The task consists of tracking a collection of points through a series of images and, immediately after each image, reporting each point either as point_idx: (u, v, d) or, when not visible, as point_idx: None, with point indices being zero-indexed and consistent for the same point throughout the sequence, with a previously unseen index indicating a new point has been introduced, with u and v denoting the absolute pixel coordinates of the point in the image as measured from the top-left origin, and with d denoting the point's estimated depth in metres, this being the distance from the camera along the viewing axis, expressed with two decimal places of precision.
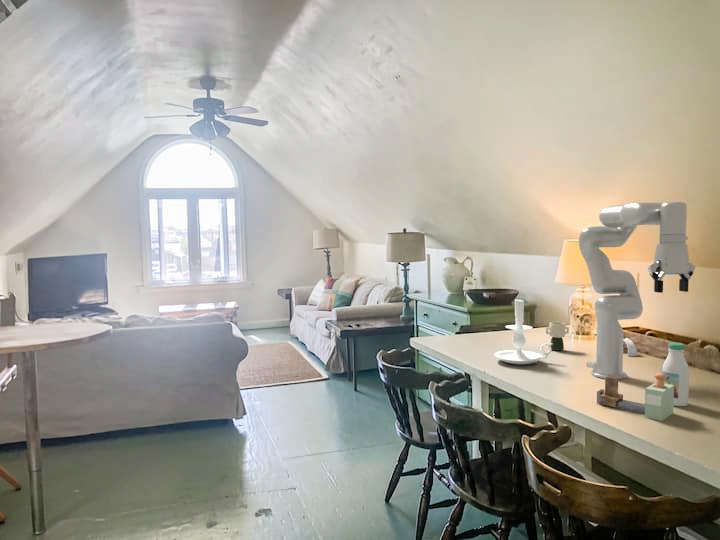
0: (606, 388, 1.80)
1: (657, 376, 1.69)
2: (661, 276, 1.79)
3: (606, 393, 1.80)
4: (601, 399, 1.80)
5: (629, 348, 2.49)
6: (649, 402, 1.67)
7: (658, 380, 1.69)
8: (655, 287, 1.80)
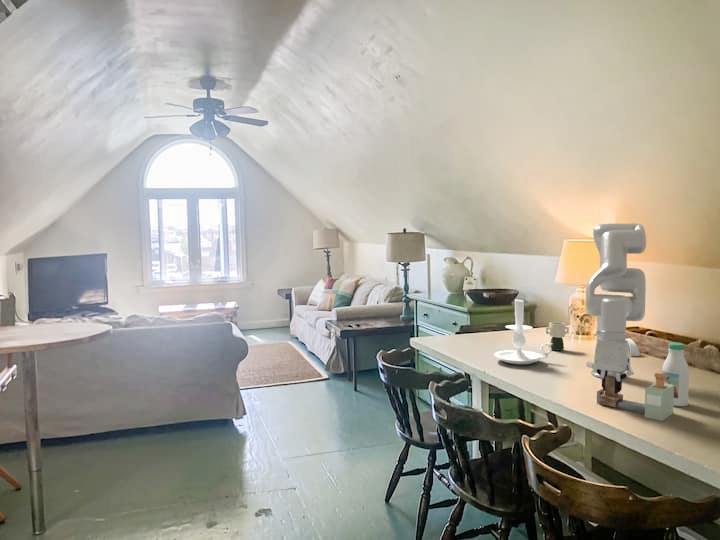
0: (606, 388, 1.80)
1: (657, 376, 1.69)
2: None
3: (606, 393, 1.80)
4: (601, 399, 1.80)
5: (632, 348, 2.48)
6: (649, 402, 1.67)
7: (658, 380, 1.69)
8: (620, 388, 1.78)
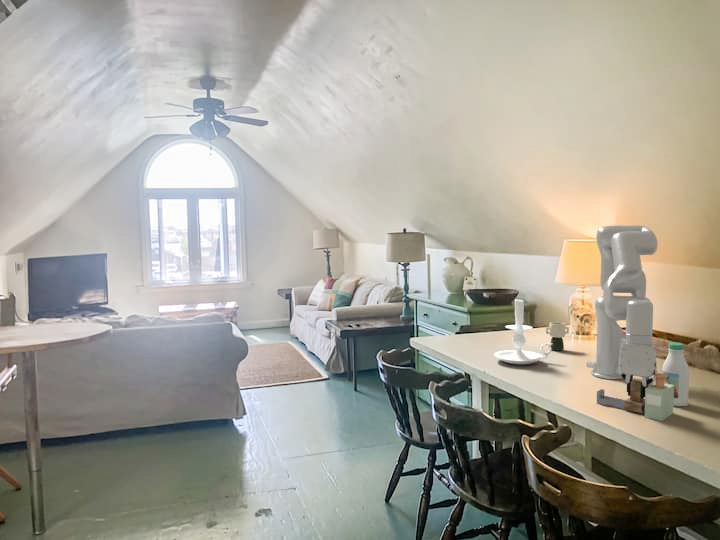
0: (631, 393, 1.74)
1: (657, 376, 1.69)
2: None
3: (631, 398, 1.75)
4: (626, 404, 1.74)
5: None
6: (649, 402, 1.67)
7: (658, 380, 1.69)
8: None
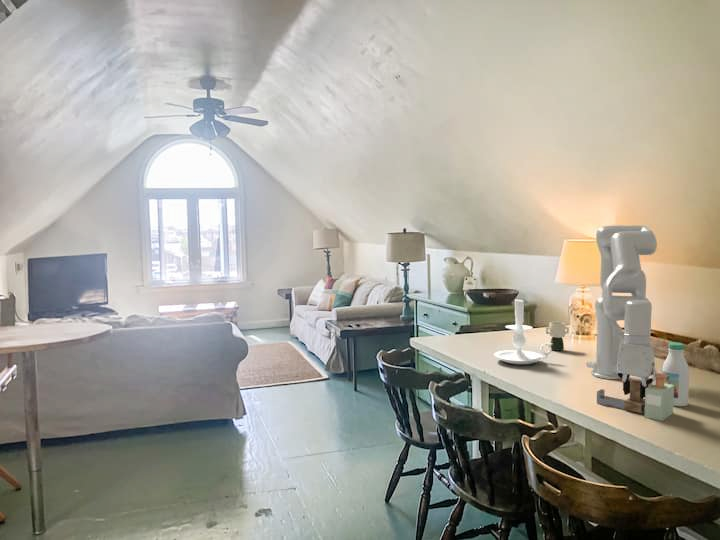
0: (631, 393, 1.75)
1: (657, 376, 1.69)
2: None
3: (631, 398, 1.75)
4: (626, 404, 1.74)
5: None
6: (649, 402, 1.67)
7: (658, 380, 1.69)
8: None
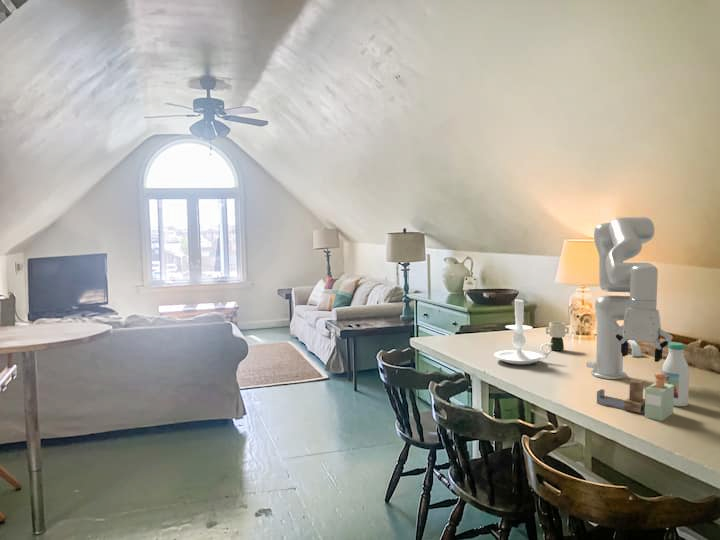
0: (630, 393, 1.75)
1: (657, 375, 1.69)
2: None
3: (630, 398, 1.75)
4: (625, 404, 1.74)
5: (634, 348, 2.48)
6: (649, 402, 1.67)
7: (658, 379, 1.69)
8: (661, 356, 1.69)
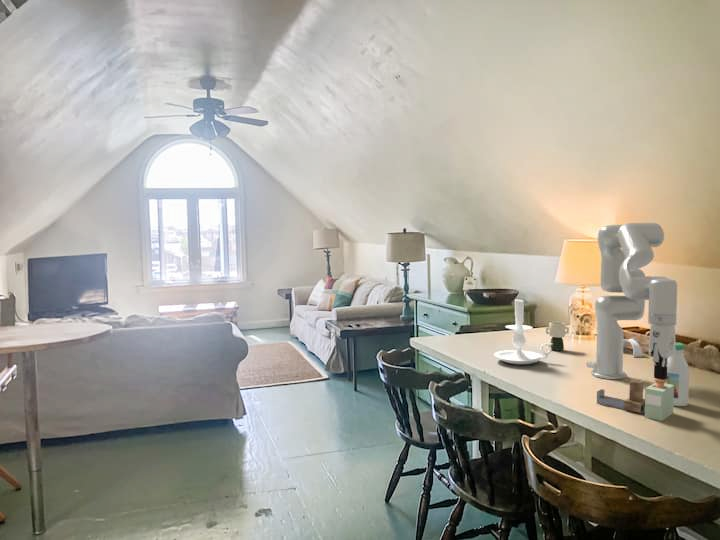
0: (630, 393, 1.75)
1: (657, 380, 1.69)
2: None
3: (630, 398, 1.75)
4: (625, 404, 1.74)
5: (635, 349, 2.47)
6: (649, 402, 1.67)
7: (658, 384, 1.69)
8: None
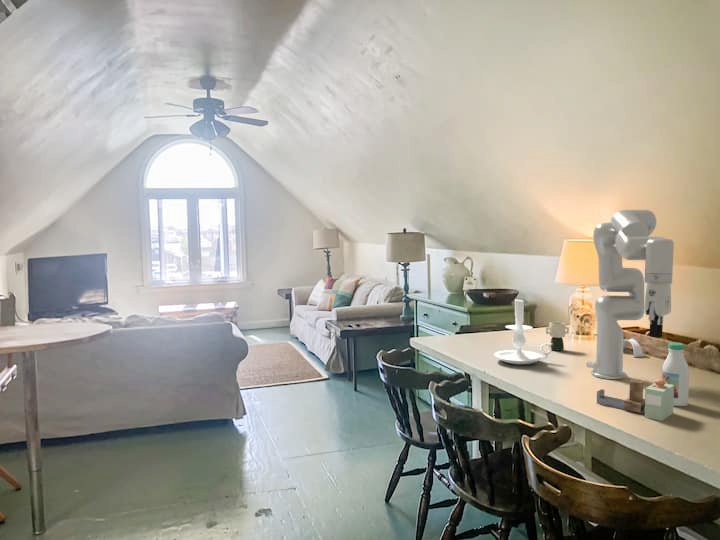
0: (630, 393, 1.75)
1: (657, 382, 1.69)
2: None
3: (630, 398, 1.75)
4: (625, 404, 1.74)
5: (635, 349, 2.47)
6: (649, 402, 1.67)
7: (658, 386, 1.69)
8: None
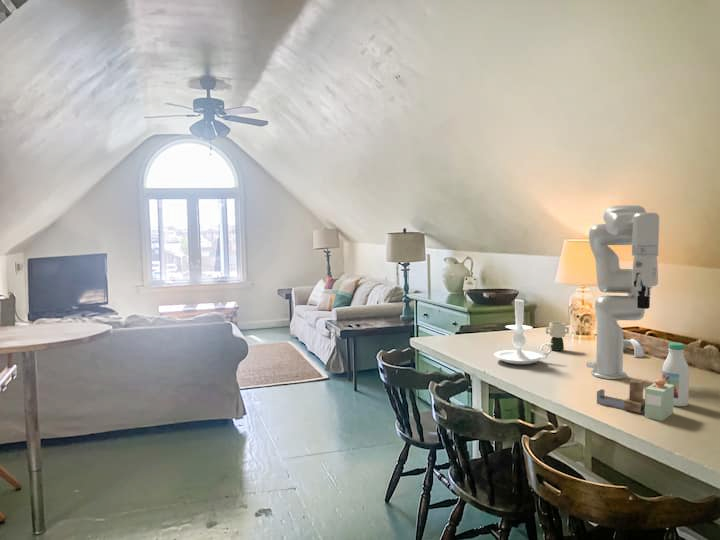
0: (630, 393, 1.75)
1: (657, 382, 1.69)
2: None
3: (630, 398, 1.75)
4: (625, 404, 1.74)
5: (636, 349, 2.47)
6: (649, 402, 1.67)
7: (658, 386, 1.69)
8: None
